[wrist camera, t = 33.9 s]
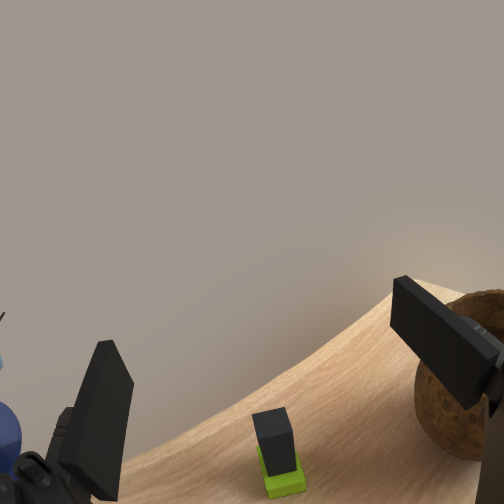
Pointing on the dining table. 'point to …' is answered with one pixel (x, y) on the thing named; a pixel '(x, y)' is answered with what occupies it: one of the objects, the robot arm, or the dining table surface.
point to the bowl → (439, 398)
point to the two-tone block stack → (278, 454)
